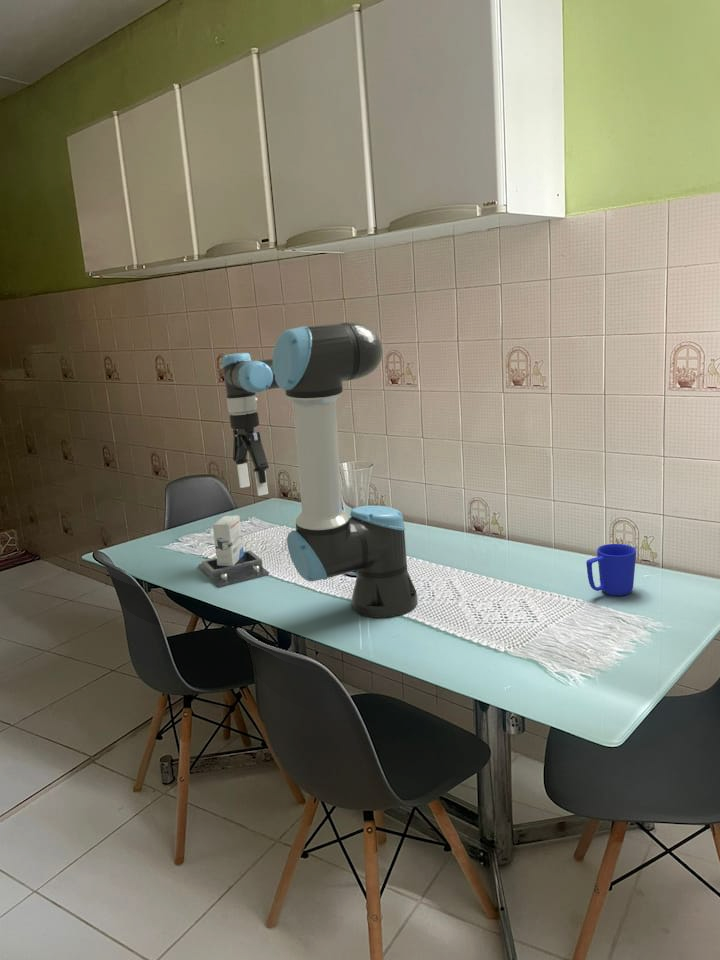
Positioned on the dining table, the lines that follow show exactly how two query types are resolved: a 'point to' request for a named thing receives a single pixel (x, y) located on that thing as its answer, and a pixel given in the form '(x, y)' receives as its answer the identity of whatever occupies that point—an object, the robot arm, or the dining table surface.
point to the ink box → (228, 540)
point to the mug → (614, 569)
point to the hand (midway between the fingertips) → (253, 490)
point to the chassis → (234, 570)
